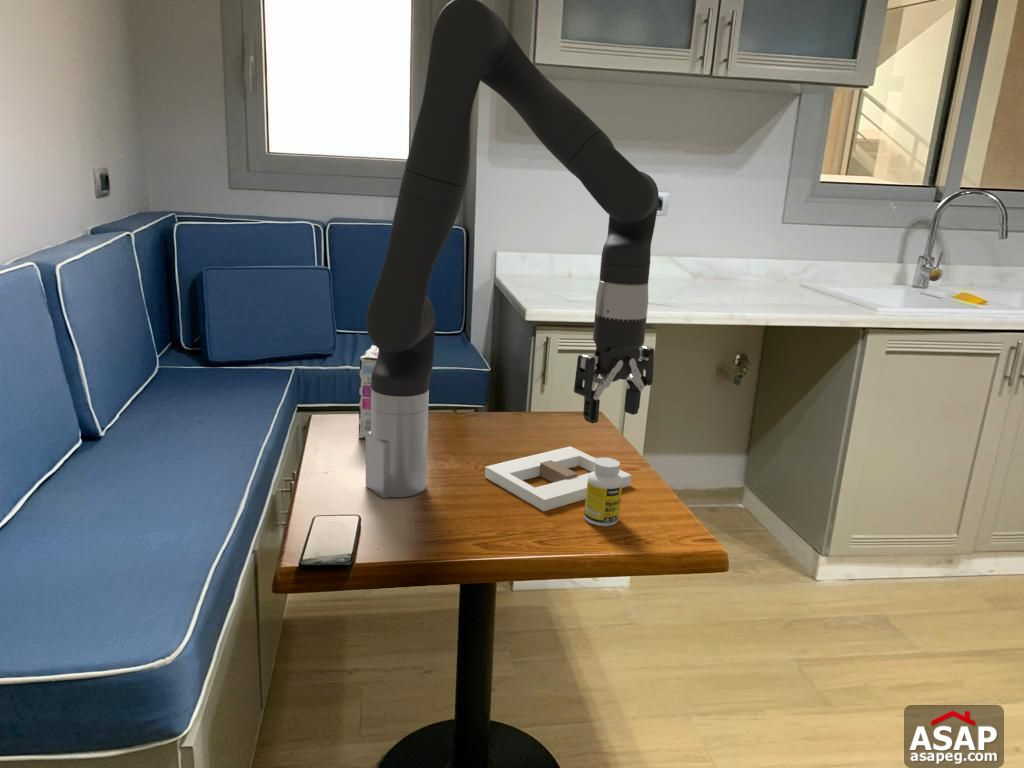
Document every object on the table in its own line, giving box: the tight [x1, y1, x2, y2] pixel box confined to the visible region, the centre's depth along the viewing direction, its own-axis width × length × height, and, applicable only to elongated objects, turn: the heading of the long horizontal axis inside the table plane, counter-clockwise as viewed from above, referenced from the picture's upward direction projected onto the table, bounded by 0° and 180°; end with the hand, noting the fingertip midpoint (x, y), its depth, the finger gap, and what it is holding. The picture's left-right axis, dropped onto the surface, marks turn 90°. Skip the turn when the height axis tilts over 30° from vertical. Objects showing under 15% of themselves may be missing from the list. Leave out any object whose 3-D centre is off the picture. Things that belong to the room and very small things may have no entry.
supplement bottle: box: [583, 457, 623, 527], centre depth 121 cm, size 5×5×10 cm
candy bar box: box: [358, 344, 379, 439], centre depth 153 cm, size 11×5×16 cm, turn 178°
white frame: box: [484, 445, 632, 512], centre depth 136 cm, size 20×16×2 cm
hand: (611, 417), depth 118 cm, fingers open, 8 cm apart
